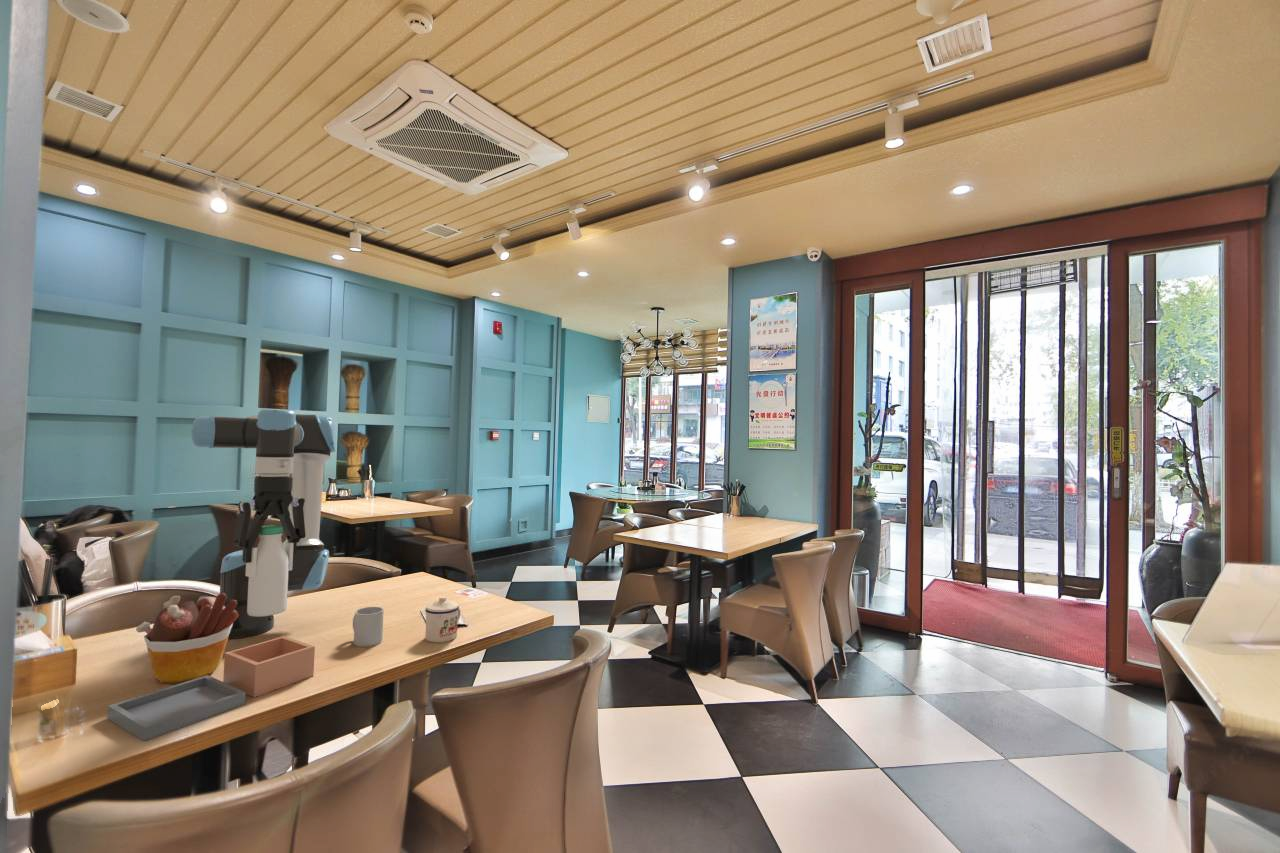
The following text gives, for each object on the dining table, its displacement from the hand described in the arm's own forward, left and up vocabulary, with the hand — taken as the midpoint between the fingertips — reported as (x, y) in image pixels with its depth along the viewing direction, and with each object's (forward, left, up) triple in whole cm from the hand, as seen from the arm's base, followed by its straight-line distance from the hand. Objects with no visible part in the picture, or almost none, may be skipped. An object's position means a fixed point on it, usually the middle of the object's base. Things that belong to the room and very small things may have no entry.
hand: (269, 572), depth 128 cm
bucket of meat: (-19, -7, -25) cm, 32 cm away
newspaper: (-1, +54, -26) cm, 60 cm away
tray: (0, -16, -25) cm, 30 cm away
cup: (-4, +28, -25) cm, 38 cm away
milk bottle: (0, 0, -9) cm, 9 cm away
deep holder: (0, +1, -25) cm, 25 cm away
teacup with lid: (+11, +43, -25) cm, 51 cm away
